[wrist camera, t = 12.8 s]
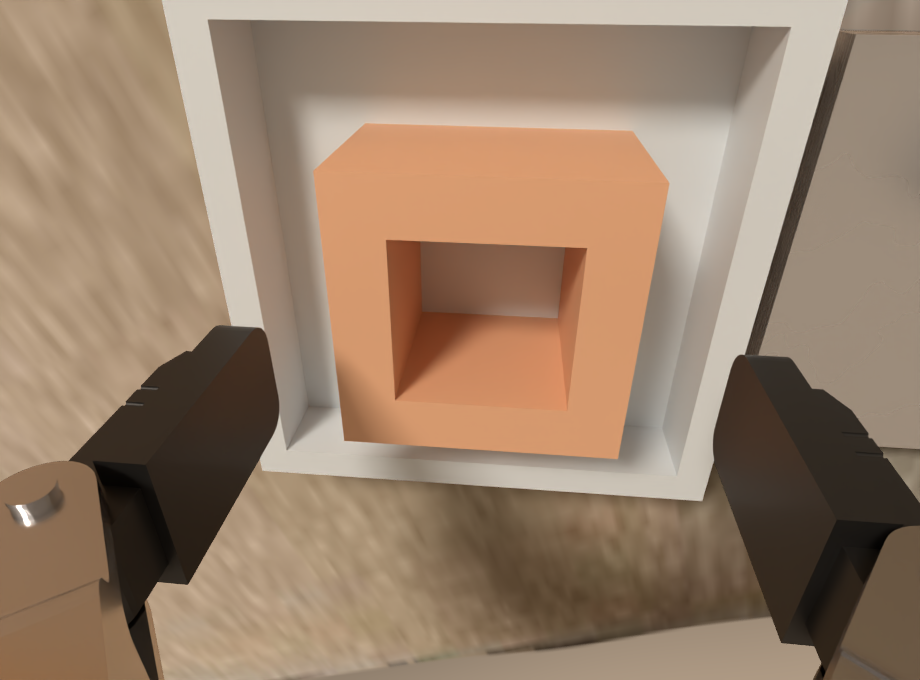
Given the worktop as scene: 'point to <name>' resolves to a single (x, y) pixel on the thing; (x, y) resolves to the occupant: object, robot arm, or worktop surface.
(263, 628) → the worktop surface
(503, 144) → the ring
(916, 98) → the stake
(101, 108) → the worktop surface
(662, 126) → the tray
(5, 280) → the worktop surface
